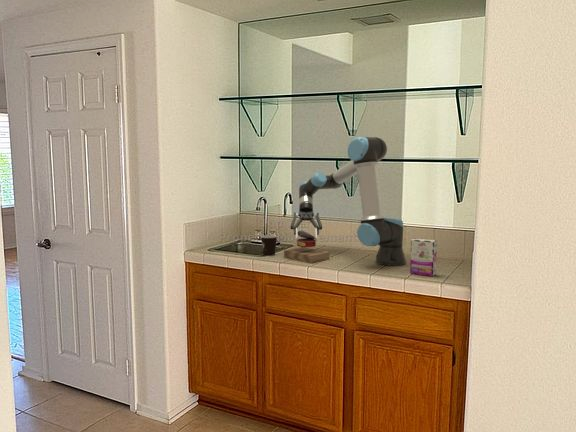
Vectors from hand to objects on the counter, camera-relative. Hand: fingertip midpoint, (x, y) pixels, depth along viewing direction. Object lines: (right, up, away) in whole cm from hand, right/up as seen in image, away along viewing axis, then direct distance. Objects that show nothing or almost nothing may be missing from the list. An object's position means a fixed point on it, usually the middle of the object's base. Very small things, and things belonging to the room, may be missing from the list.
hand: (306, 239), depth 273 cm
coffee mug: (-20, -9, +16) cm, 28 cm away
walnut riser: (0, -11, +4) cm, 11 cm away
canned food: (0, -4, +4) cm, 5 cm away
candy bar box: (+54, -15, -30) cm, 63 cm away
